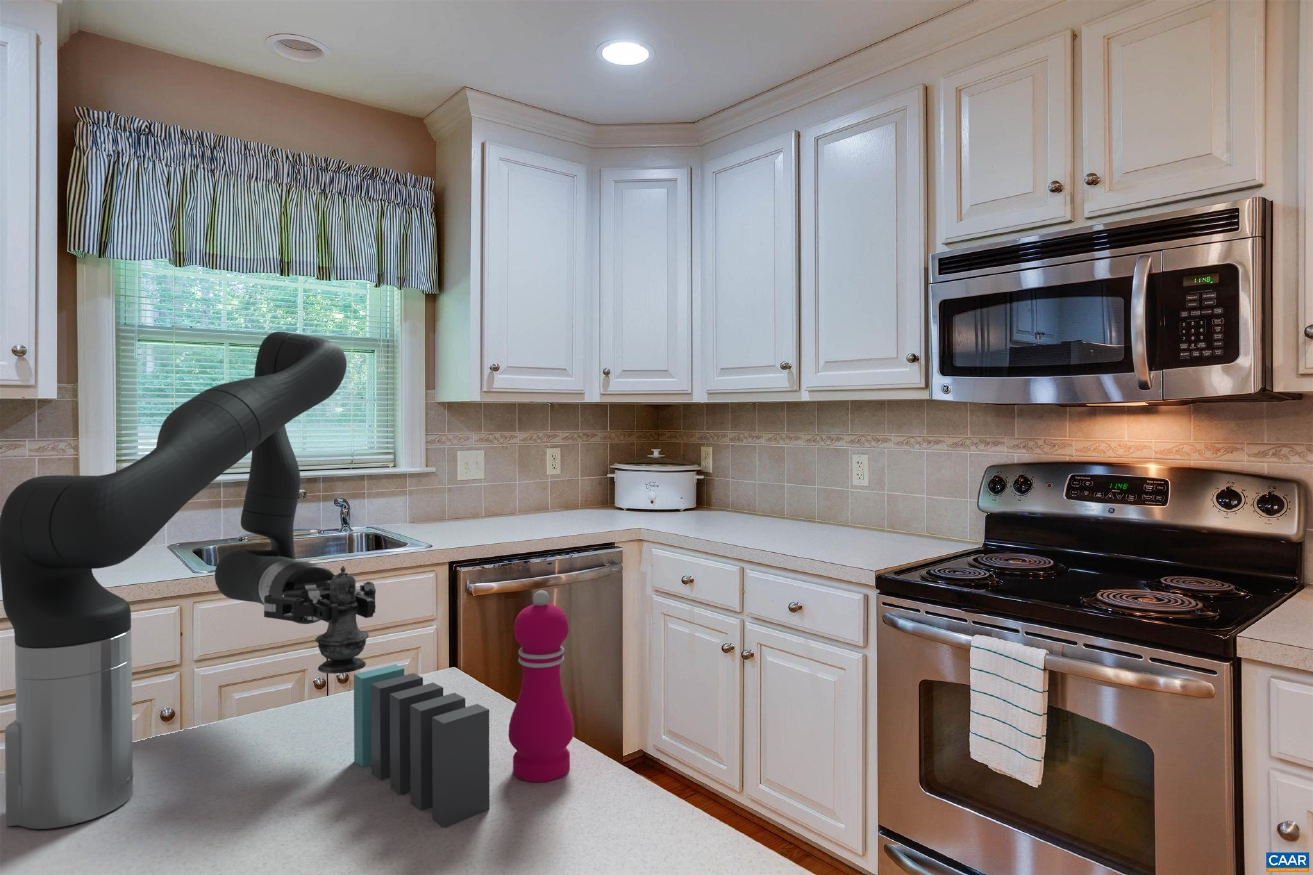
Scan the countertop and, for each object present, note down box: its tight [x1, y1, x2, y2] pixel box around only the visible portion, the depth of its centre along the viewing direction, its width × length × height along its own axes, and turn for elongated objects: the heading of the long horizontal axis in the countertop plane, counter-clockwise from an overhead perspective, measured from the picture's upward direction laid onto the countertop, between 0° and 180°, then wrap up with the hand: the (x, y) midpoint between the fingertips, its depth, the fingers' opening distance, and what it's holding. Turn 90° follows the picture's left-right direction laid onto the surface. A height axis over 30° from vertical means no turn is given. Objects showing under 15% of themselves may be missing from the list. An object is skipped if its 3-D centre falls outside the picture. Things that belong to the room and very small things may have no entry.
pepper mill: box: [508, 590, 575, 783], centre depth 83 cm, size 7×7×20 cm
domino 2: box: [371, 672, 424, 782], centre depth 83 cm, size 2×5×10 cm, turn 135°
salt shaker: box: [315, 565, 370, 675], centre depth 89 cm, size 6×6×12 cm
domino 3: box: [389, 682, 444, 796], centre depth 80 cm, size 2×5×10 cm, turn 135°
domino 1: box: [353, 664, 405, 768], centre depth 86 cm, size 2×5×10 cm, turn 135°
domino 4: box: [410, 692, 466, 812], centre depth 77 cm, size 2×5×10 cm, turn 135°
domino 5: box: [432, 703, 491, 829], centre depth 74 cm, size 2×5×10 cm, turn 135°
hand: (353, 611), depth 87 cm, fingers closed on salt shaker, 3 cm apart
